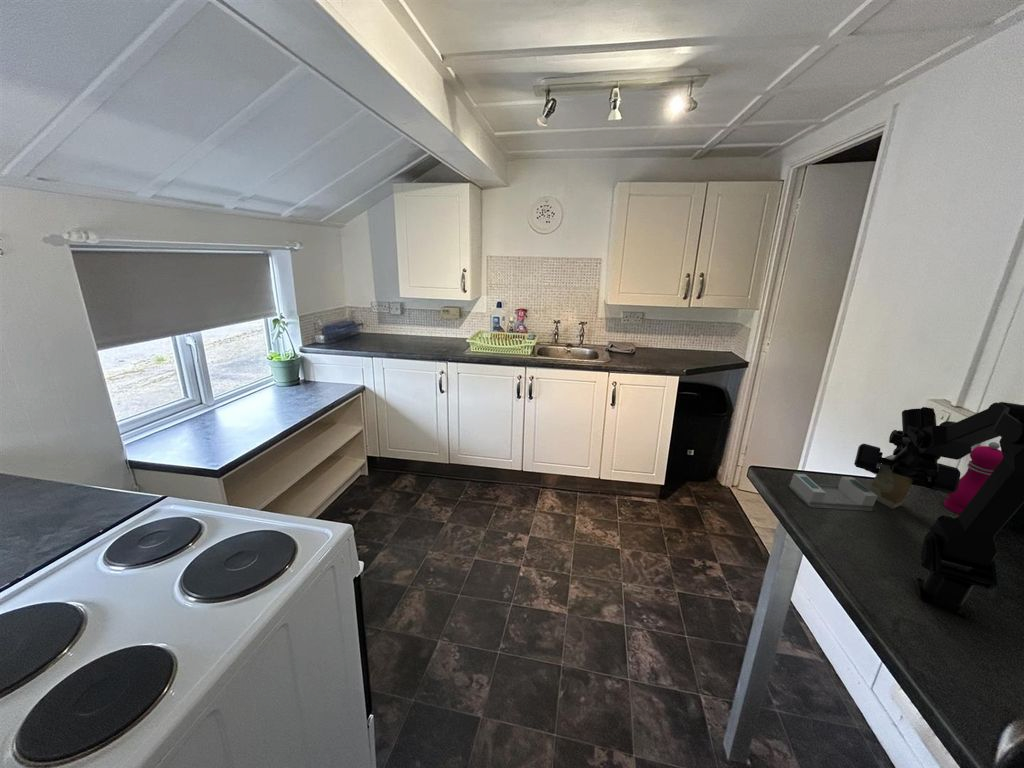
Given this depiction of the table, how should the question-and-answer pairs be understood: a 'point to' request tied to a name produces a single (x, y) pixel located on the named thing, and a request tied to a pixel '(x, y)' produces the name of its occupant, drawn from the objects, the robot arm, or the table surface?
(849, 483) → the mounted modules
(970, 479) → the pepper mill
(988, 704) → the table surface
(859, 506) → the rail board
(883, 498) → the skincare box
